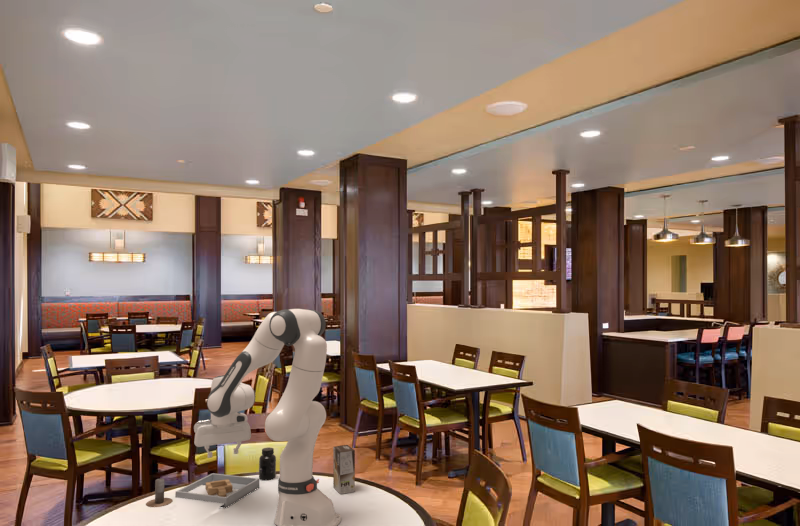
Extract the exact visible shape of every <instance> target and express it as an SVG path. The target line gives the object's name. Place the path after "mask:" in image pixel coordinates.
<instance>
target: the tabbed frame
mask: <svg viewBox="0 0 800 526" xmlns="http://www.w3.org/2000/svg"><path fill="white" fill-rule="evenodd" d="M204 486H205V485H204ZM232 488H233V486H232V484H231V483H230V481H229V479H226V480H219V481H212V482H206V486H205V491H206V493H207V495H213V496H221V497H227V494H229V493H230V494H231V493H233V489H232Z"/></svg>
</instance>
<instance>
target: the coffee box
mask: <svg viewBox="0 0 800 526" xmlns="http://www.w3.org/2000/svg"><path fill="white" fill-rule="evenodd" d="M355 456H356V451H355V449H354V448H352V447H351V446H349V444H344V445H337V446H333V456H332V457H333V460H332V461H333V465H332V467H333V477H332V478H333V482H332V483H333V488H334V489H335V490H336V491H337V492H338V494H340V495H344V494H351V493H355V491H356V489H355V488H356V485H355V484H356V483H355V482H356V481H355V480H356V476H355V475H356V473H355V472H356V467H355V466H356V465H355V464H356V461H355V460H356V457H355Z"/></svg>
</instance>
